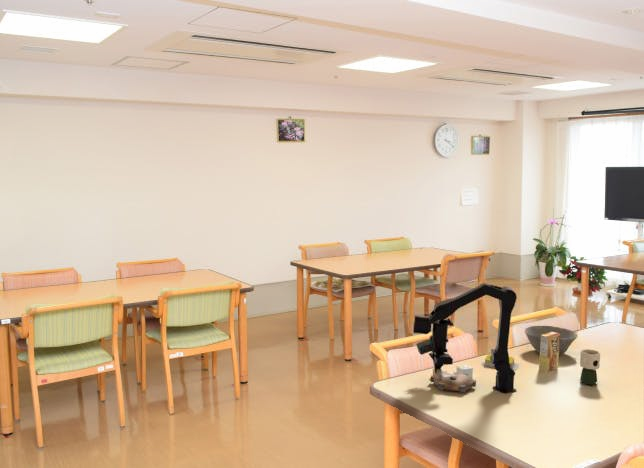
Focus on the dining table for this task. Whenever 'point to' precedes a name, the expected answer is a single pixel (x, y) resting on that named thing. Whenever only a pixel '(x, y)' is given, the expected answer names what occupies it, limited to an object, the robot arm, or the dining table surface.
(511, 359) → the emergency button
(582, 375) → the character mug
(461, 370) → the grey small block
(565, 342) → the ceramic bowl
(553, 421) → the dining table surface
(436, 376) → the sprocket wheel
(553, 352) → the candy box
